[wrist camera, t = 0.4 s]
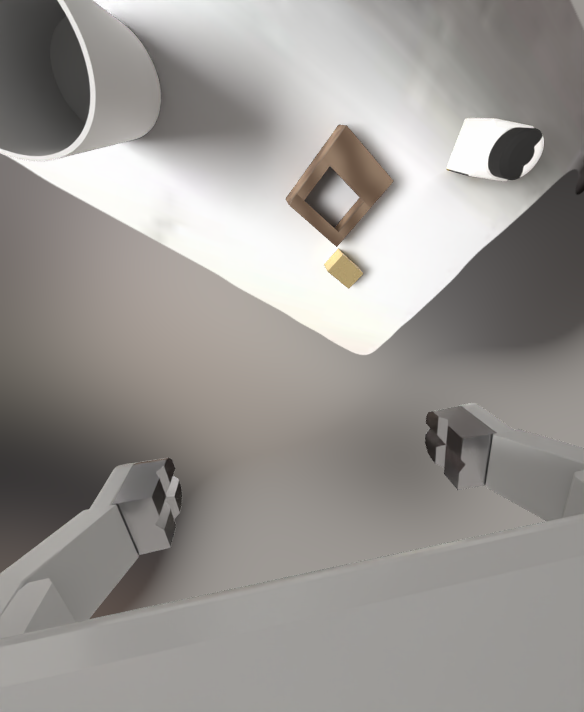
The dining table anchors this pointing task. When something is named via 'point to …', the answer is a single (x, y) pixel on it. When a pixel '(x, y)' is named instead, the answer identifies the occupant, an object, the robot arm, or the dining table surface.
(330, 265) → the brushed brass pillar
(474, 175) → the medicine bottle
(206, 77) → the dining table surface
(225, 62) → the dining table surface
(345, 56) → the dining table surface
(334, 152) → the brown wooden frame
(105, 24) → the cylinder vase
